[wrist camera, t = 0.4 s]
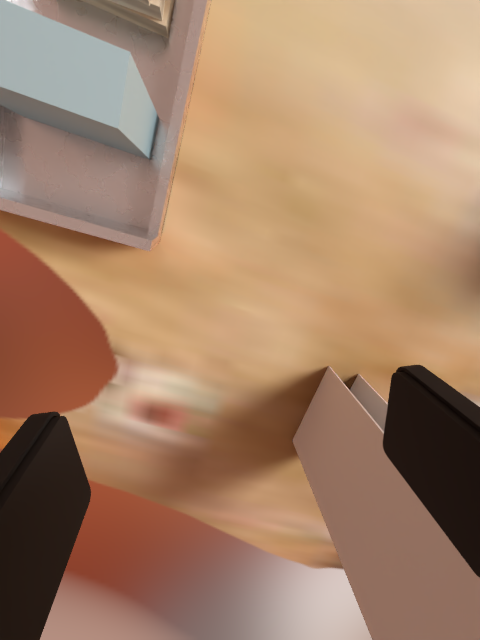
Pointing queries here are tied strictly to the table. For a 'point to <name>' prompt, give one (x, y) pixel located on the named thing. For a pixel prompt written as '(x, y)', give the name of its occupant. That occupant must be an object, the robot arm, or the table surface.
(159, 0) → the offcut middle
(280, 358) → the table surface
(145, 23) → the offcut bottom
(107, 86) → the pale blue block
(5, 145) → the grey open tray
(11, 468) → the robot arm
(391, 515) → the upright grey panel
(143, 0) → the offcut top
